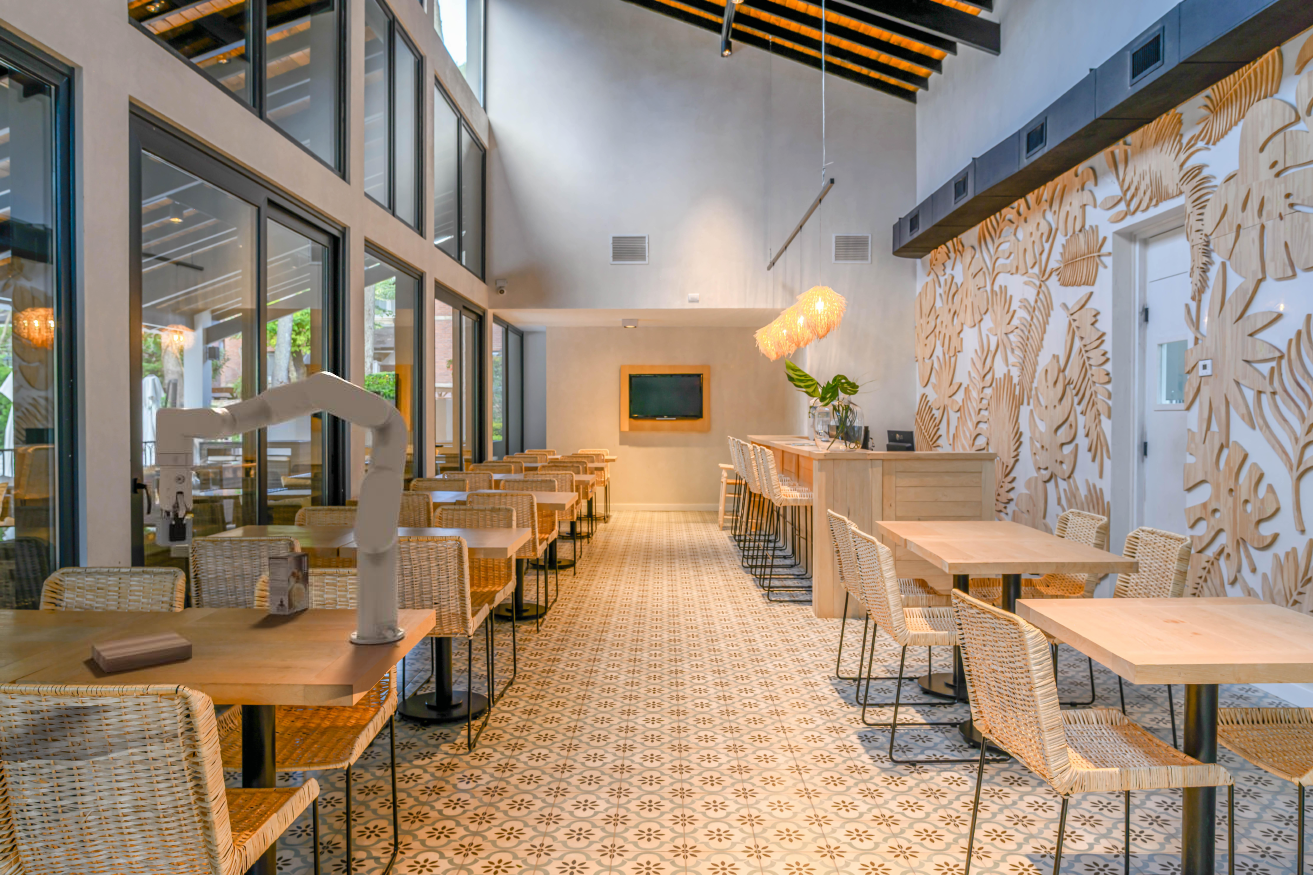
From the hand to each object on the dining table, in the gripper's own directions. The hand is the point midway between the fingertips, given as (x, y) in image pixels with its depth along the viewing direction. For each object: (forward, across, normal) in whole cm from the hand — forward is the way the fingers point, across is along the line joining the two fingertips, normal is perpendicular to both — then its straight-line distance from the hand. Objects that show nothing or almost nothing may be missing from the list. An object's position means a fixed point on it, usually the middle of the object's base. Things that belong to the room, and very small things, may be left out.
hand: (173, 538), depth 178 cm
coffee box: (+26, +24, -34) cm, 49 cm away
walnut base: (+26, +1, +6) cm, 27 cm away
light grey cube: (+1, 0, 0) cm, 1 cm away
